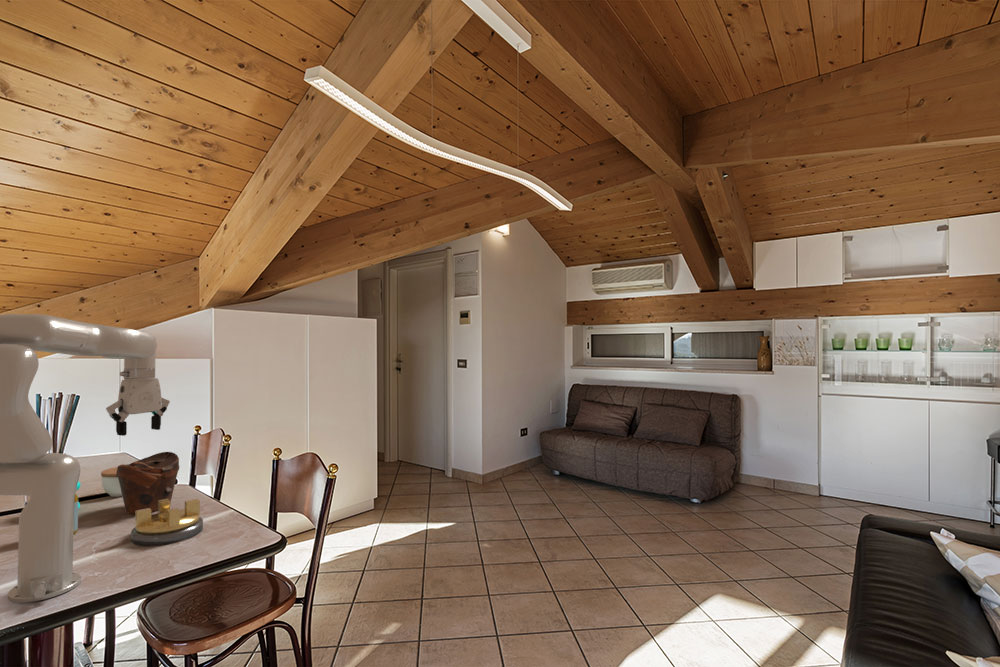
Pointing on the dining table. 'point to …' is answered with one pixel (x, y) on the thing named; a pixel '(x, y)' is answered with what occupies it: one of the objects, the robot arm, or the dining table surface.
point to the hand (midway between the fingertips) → (139, 432)
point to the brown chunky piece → (148, 481)
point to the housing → (166, 536)
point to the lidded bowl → (111, 482)
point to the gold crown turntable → (167, 518)
